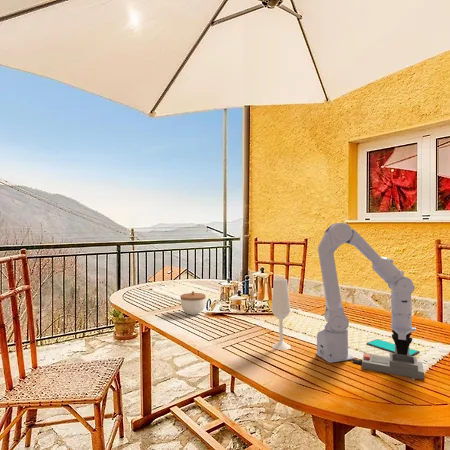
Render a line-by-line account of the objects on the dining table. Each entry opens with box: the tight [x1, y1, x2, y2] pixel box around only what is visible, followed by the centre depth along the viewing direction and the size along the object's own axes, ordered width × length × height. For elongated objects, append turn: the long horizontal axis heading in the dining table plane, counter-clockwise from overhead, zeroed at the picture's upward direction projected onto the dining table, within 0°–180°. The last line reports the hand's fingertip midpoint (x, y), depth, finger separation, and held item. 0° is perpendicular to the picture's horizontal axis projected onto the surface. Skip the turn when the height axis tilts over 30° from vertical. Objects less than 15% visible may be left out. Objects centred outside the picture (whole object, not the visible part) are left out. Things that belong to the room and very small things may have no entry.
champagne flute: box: [271, 278, 291, 351], centre depth 116 cm, size 7×7×24 cm
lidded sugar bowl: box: [180, 290, 207, 315], centre depth 162 cm, size 13×13×11 cm
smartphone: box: [366, 338, 420, 356], centre depth 113 cm, size 7×1×15 cm
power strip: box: [352, 352, 425, 381], centre depth 97 cm, size 19×8×4 cm, turn 62°
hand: (402, 355), depth 103 cm, fingers closed on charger, 4 cm apart
